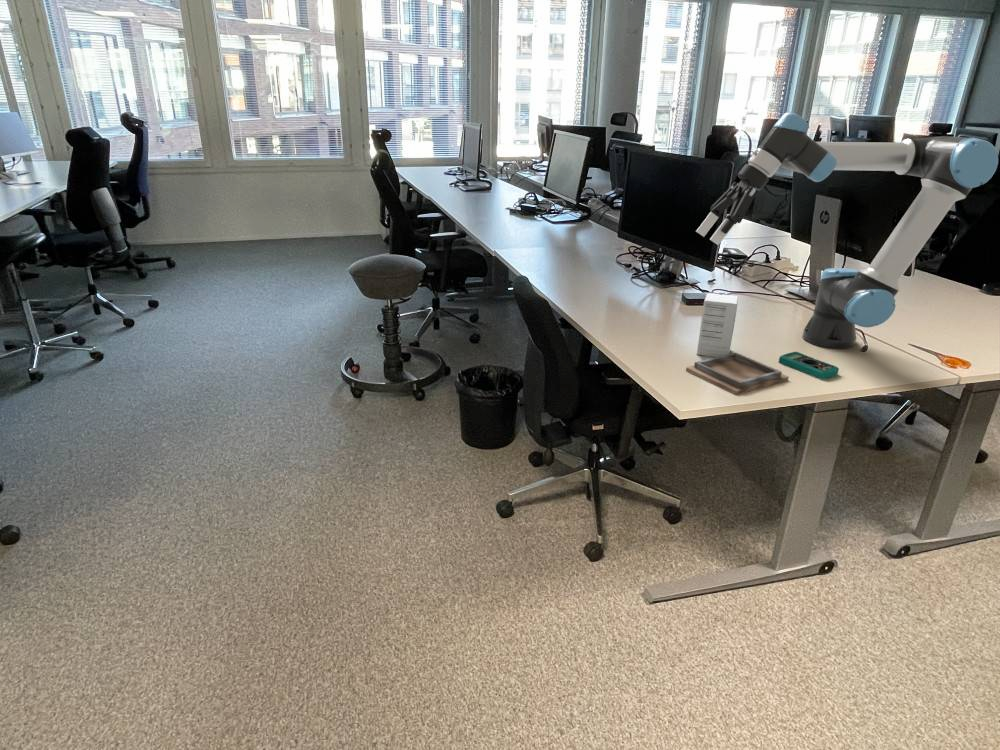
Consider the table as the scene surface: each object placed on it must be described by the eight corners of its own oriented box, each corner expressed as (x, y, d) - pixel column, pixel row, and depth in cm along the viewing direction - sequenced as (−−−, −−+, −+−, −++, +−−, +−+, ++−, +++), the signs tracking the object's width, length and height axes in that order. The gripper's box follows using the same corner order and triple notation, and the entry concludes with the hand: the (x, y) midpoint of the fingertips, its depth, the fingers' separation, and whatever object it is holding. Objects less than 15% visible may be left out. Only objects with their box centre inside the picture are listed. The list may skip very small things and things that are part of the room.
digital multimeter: (822, 381, 172) (825, 372, 171) (776, 363, 184) (778, 354, 183) (839, 376, 176) (842, 367, 174) (793, 359, 187) (795, 349, 186)
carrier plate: (736, 358, 186) (737, 350, 185) (788, 380, 172) (789, 371, 171) (685, 370, 177) (686, 362, 176) (736, 394, 163) (737, 385, 162)
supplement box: (728, 359, 186) (737, 304, 179) (696, 355, 189) (703, 300, 182) (730, 348, 194) (739, 295, 187) (699, 344, 197) (706, 292, 190)
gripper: (732, 159, 179) (684, 223, 186) (764, 165, 156) (708, 238, 162) (752, 174, 180) (704, 237, 187) (787, 182, 157) (731, 254, 164)
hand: (706, 238), depth 175 cm, fingers open, 13 cm apart
